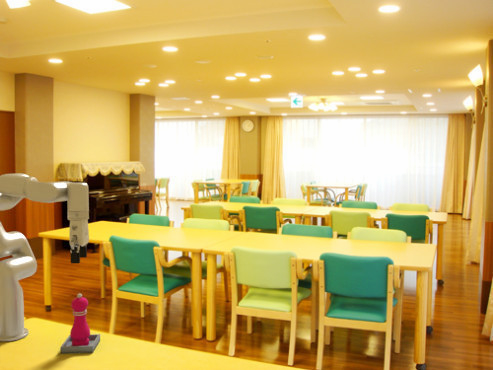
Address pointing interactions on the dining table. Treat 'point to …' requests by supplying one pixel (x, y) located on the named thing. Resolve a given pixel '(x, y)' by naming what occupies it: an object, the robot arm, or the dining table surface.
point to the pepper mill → (80, 322)
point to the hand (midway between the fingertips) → (79, 260)
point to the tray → (90, 348)
